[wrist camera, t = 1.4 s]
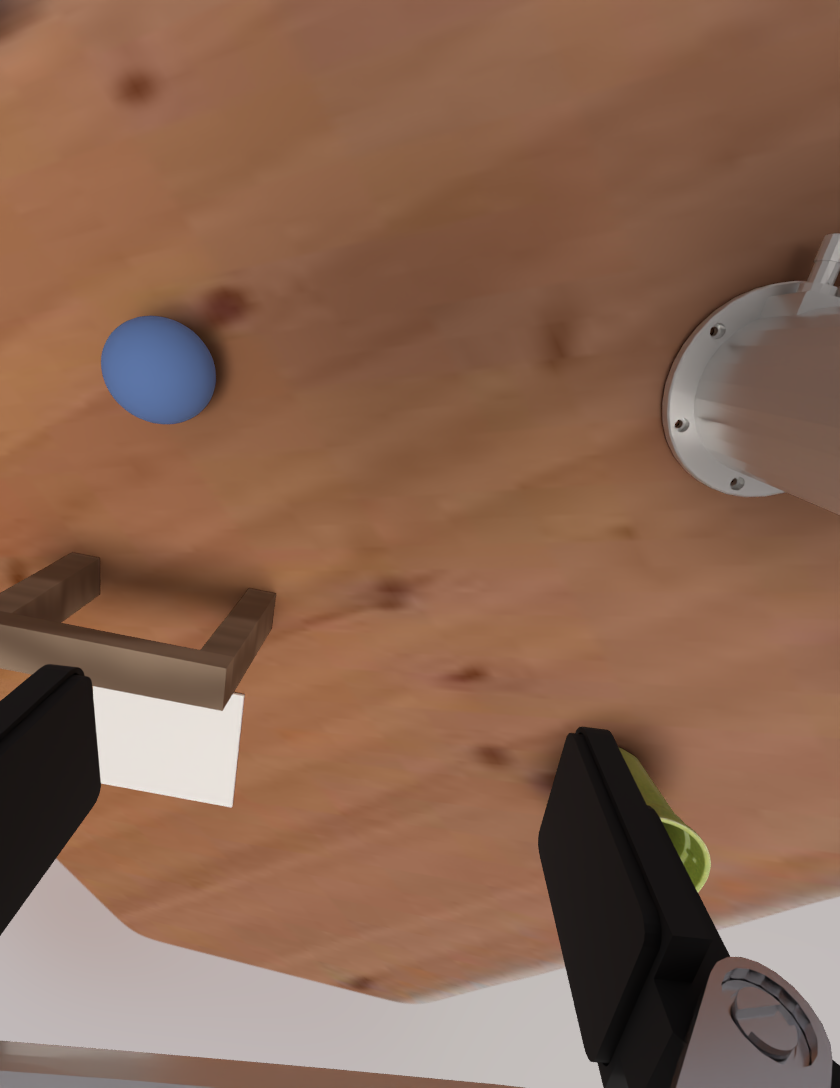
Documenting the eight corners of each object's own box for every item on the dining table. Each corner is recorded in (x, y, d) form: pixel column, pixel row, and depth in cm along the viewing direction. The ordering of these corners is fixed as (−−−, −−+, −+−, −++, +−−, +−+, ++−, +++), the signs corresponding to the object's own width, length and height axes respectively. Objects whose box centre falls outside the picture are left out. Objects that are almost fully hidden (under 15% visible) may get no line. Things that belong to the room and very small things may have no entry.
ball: (137, 308, 33) (75, 301, 27) (234, 330, 33) (192, 326, 27) (136, 406, 35) (77, 418, 29) (227, 426, 35) (186, 441, 29)
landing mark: (94, 665, 42) (92, 666, 42) (244, 694, 42) (243, 695, 42) (95, 780, 46) (94, 782, 46) (232, 805, 47) (231, 807, 46)
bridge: (72, 552, 39) (-42, 616, 30) (276, 593, 39) (226, 668, 30) (73, 588, 40) (-36, 661, 31) (271, 628, 40) (222, 711, 31)
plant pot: (556, 824, 46) (580, 926, 38) (535, 739, 43) (557, 831, 35) (666, 806, 45) (716, 908, 37) (653, 717, 42) (704, 807, 34)
